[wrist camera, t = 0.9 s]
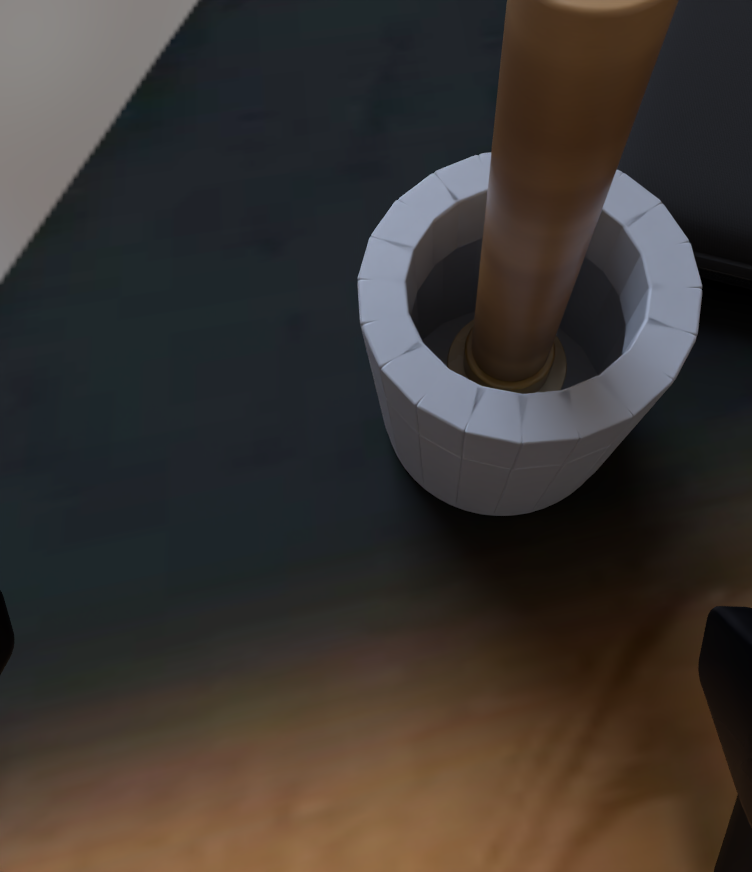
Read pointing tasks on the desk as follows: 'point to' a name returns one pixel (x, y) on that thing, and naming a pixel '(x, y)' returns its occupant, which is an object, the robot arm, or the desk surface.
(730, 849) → the multiport hub
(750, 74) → the carrying case
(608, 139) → the tall brown cylinder
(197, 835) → the desk surface
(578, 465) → the pencil cup
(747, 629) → the robot arm
